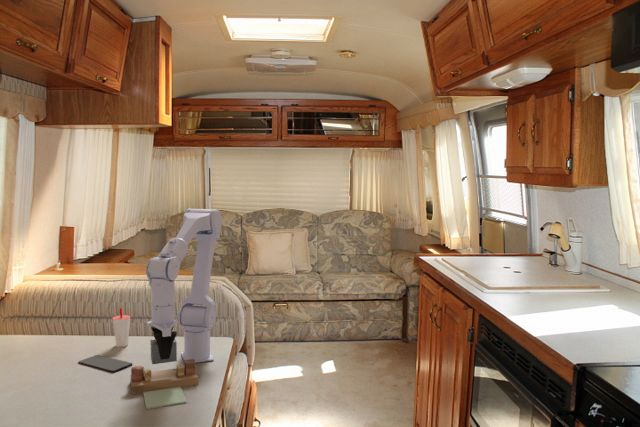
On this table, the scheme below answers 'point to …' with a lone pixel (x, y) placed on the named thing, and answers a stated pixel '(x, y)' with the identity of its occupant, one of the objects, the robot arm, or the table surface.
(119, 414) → the table surface
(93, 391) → the table surface
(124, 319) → the cup
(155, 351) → the grey block
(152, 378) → the block sculpture plaque
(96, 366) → the smartphone
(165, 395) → the mat
